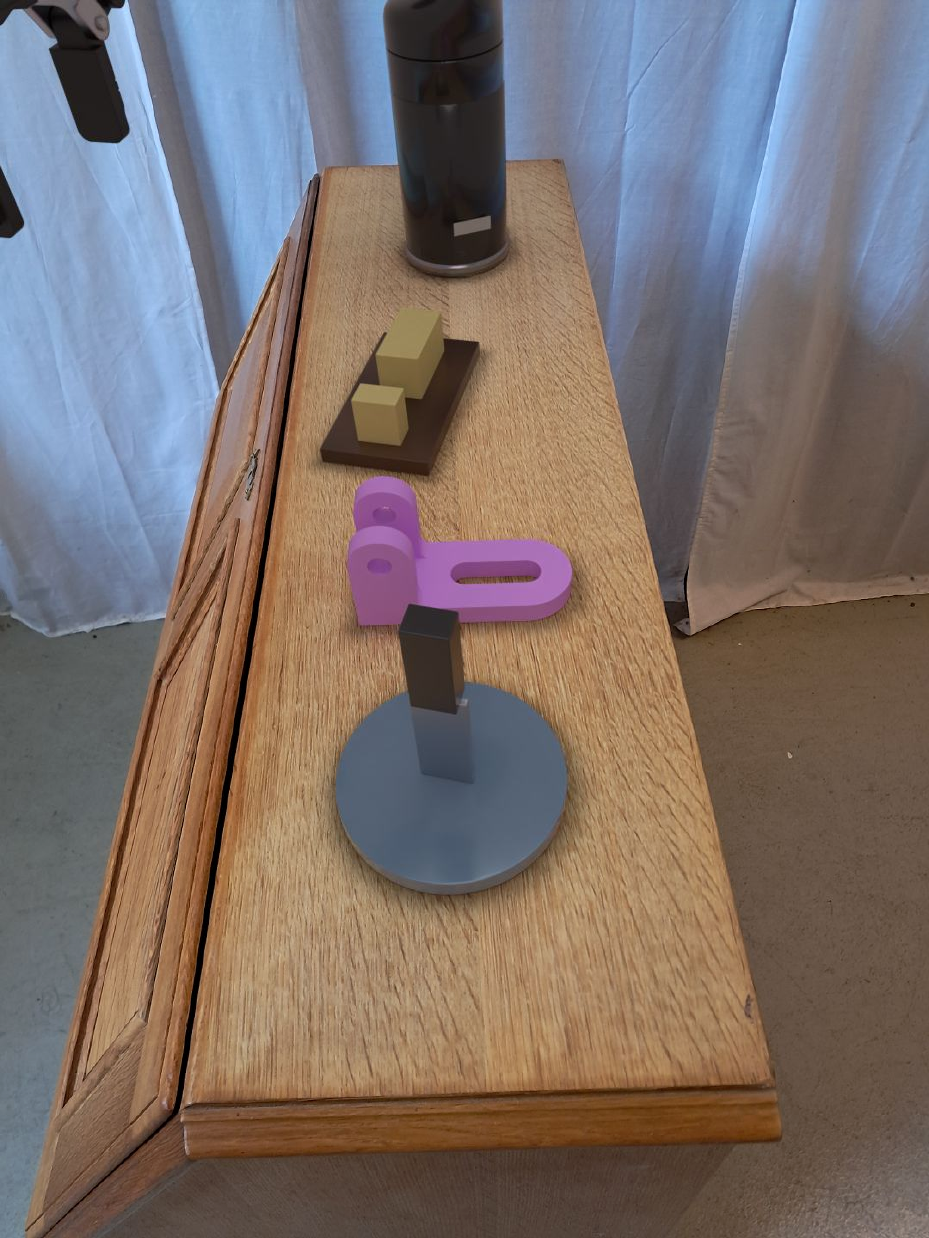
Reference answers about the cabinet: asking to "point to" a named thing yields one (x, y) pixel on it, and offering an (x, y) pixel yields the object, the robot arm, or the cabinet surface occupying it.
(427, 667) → the knife
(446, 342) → the board
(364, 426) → the butter slice
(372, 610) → the bracket
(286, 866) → the cabinet surface
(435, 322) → the butter
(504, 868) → the plate
